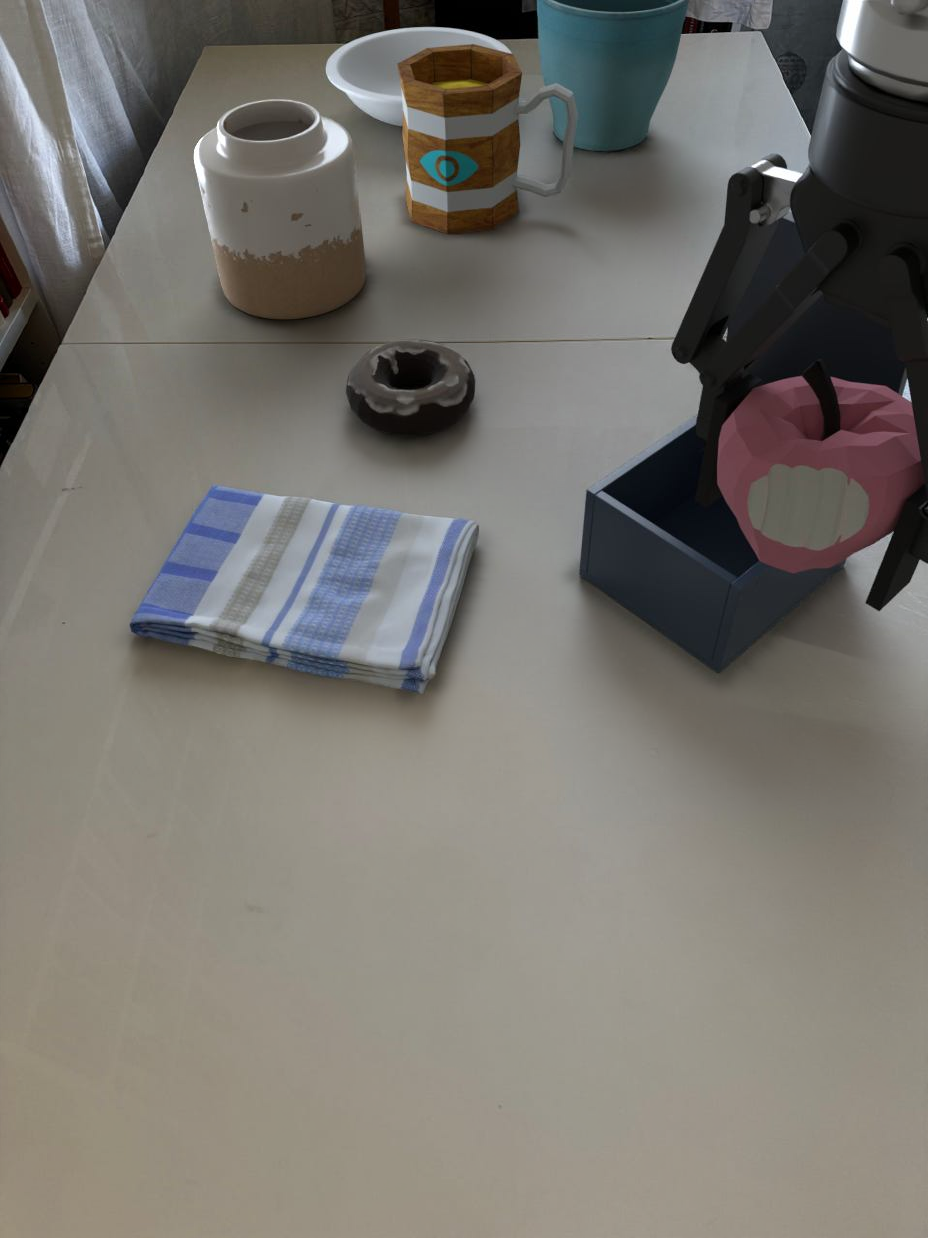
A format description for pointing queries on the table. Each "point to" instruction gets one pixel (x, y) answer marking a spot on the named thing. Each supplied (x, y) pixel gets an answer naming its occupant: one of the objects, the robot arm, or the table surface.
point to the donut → (417, 407)
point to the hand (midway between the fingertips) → (798, 539)
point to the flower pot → (608, 64)
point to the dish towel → (313, 586)
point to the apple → (818, 467)
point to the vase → (282, 209)
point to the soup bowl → (390, 65)
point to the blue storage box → (684, 555)
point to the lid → (816, 328)
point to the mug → (469, 137)
